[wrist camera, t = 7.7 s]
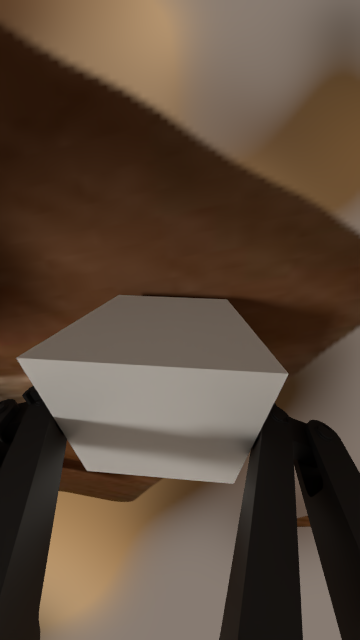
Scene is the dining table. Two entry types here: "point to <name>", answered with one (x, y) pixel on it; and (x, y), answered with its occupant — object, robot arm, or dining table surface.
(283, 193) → the dining table surface
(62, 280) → the dining table surface
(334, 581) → the robot arm
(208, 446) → the white cube
